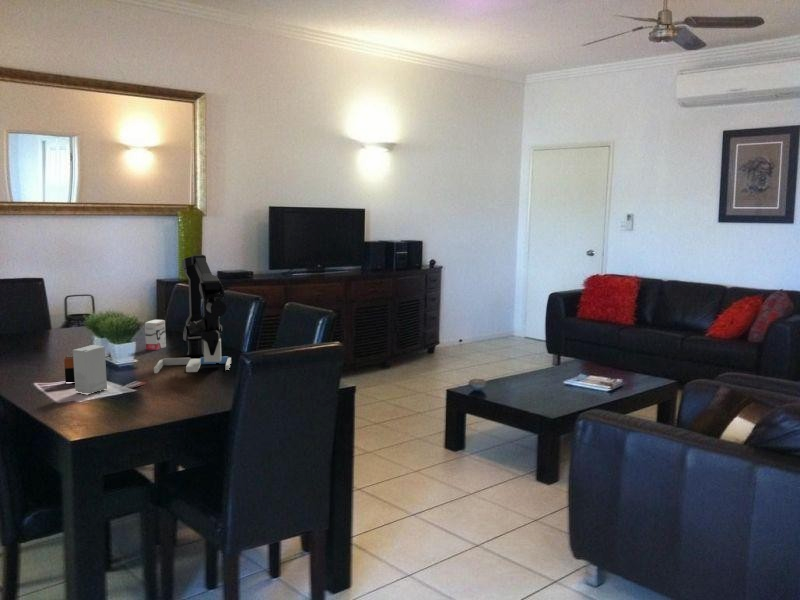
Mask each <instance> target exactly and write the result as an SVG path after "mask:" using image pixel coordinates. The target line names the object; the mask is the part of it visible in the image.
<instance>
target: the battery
mask: <svg viewBox="0 0 800 600" xmlns="http://www.w3.org/2000/svg"><path fill="white" fill-rule="evenodd" d="M63 360H64V361H63V363H64V377H65V383H66V382H75V377H74V362H73V353H72V354H70V353H69V354H66V356H65V357H64V359H63Z"/></svg>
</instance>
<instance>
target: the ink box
mask: <svg viewBox="0 0 800 600" xmlns="http://www.w3.org/2000/svg"><path fill="white" fill-rule="evenodd" d="M144 334H145V337H144V338H145V350H146V351H157V350H161V349H163V348H166V347H167V341H166V337H167V335H166V320H164V319H152V320H149V321H146V322H145V323H144Z"/></svg>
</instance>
